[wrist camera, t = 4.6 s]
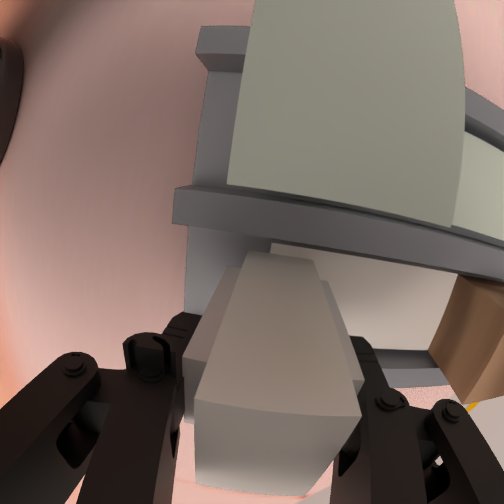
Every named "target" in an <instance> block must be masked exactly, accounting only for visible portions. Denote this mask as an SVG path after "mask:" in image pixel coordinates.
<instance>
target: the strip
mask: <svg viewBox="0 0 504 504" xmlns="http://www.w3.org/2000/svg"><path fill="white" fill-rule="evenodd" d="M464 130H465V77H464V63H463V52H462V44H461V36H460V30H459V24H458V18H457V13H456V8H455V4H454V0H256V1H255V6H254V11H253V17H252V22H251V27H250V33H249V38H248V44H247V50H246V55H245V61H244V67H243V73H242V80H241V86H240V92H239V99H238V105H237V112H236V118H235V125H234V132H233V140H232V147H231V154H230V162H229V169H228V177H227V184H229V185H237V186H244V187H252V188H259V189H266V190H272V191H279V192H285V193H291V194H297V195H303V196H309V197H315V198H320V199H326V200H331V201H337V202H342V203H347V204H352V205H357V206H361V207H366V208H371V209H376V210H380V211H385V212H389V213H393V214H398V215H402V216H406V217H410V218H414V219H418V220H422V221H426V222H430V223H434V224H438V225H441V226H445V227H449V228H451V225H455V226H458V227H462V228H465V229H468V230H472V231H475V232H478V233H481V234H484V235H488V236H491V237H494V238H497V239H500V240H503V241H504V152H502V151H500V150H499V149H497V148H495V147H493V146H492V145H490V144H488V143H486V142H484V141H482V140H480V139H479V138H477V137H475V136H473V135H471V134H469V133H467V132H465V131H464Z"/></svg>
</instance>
